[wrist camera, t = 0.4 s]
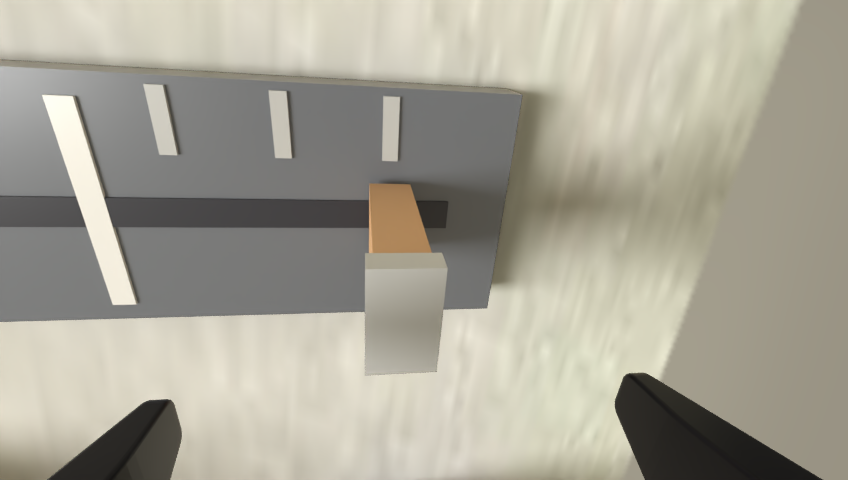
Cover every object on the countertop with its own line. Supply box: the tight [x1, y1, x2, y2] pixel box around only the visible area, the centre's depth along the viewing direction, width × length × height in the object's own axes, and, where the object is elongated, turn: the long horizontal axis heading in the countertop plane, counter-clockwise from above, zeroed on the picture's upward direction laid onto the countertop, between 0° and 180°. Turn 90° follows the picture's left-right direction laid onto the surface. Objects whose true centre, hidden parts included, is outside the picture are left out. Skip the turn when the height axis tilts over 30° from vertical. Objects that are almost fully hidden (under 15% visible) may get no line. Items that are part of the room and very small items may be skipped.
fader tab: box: [365, 183, 448, 375], centre depth 14 cm, size 3×2×7 cm, turn 176°
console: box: [0, 60, 522, 322], centre depth 17 cm, size 10×22×2 cm, turn 86°
